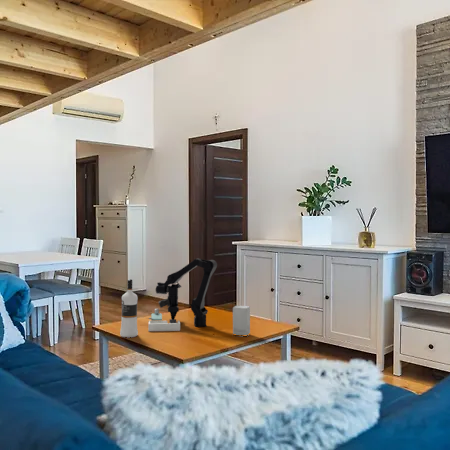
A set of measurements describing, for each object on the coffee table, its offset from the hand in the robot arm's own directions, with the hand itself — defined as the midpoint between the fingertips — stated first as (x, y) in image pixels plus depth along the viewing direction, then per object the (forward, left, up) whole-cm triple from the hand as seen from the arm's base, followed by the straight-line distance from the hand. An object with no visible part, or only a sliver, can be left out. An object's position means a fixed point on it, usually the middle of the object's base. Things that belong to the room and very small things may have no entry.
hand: (172, 320), depth 279 cm
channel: (+6, +15, -1) cm, 16 cm away
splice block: (0, +5, -2) cm, 5 cm away
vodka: (+24, +28, -2) cm, 37 cm away
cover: (+10, +5, +3) cm, 12 cm away
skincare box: (-36, +31, -2) cm, 47 cm away
